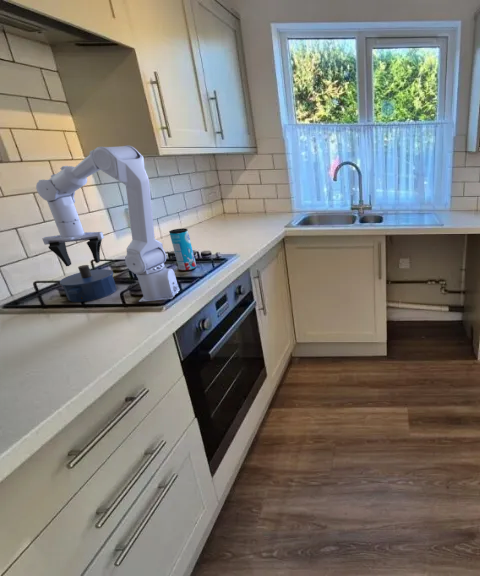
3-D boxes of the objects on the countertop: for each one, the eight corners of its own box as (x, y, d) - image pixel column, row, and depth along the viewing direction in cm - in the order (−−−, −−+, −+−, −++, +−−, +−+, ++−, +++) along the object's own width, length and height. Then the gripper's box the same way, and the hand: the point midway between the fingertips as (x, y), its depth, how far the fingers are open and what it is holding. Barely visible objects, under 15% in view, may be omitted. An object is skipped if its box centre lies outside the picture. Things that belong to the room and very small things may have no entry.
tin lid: (124, 273, 120) (119, 259, 118) (87, 289, 108) (82, 274, 106) (88, 271, 122) (84, 258, 120) (48, 287, 110) (43, 273, 108)
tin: (127, 281, 126) (122, 267, 124) (100, 303, 110) (94, 287, 108) (86, 285, 124) (81, 270, 122) (53, 307, 108) (46, 291, 105)
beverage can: (195, 270, 134) (185, 231, 128) (177, 272, 133) (167, 233, 127) (198, 265, 140) (188, 227, 134) (181, 267, 138) (171, 229, 132)
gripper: (30, 226, 102) (49, 270, 107) (91, 220, 107) (106, 264, 112) (42, 221, 108) (59, 263, 114) (99, 216, 113) (113, 257, 118)
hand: (83, 263), depth 113 cm, fingers open, 7 cm apart
